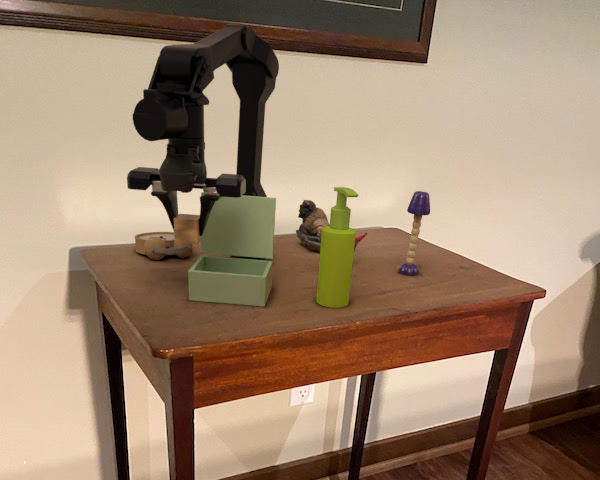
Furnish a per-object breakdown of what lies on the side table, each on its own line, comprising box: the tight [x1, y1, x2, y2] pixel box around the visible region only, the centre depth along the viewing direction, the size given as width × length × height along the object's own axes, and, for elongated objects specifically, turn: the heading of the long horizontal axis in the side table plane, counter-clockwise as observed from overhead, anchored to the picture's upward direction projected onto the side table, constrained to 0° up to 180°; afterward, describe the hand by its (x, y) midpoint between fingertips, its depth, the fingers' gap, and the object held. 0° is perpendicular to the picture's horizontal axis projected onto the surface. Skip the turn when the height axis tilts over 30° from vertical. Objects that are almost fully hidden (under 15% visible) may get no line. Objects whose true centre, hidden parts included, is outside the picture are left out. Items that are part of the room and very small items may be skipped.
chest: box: [187, 254, 274, 308], centre depth 111 cm, size 10×13×5 cm
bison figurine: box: [295, 199, 330, 252], centre depth 143 cm, size 12×7×10 cm, turn 27°
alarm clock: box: [134, 231, 193, 261], centre depth 132 cm, size 11×5×15 cm
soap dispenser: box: [315, 186, 359, 309], centre depth 107 cm, size 6×7×20 cm
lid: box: [200, 191, 277, 260], centre depth 112 cm, size 11×13×1 cm
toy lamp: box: [398, 190, 431, 276], centre depth 128 cm, size 5×5×17 cm
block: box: [173, 213, 203, 245], centre depth 106 cm, size 4×4×4 cm
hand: (188, 234), depth 106 cm, fingers closed on block, 4 cm apart
